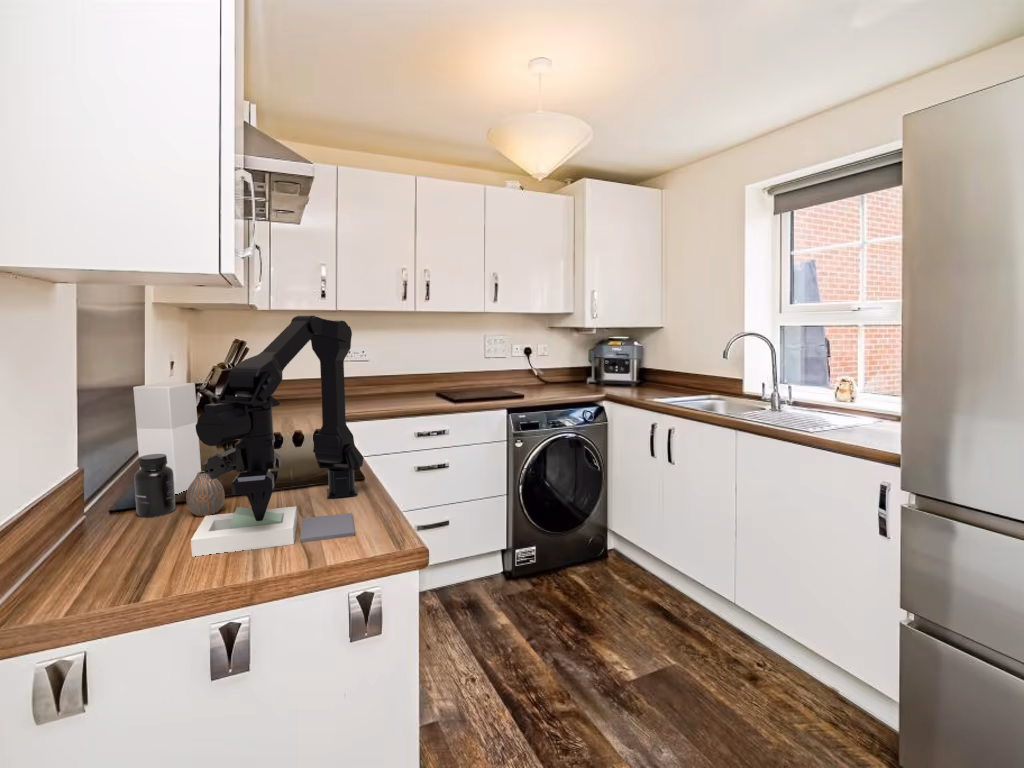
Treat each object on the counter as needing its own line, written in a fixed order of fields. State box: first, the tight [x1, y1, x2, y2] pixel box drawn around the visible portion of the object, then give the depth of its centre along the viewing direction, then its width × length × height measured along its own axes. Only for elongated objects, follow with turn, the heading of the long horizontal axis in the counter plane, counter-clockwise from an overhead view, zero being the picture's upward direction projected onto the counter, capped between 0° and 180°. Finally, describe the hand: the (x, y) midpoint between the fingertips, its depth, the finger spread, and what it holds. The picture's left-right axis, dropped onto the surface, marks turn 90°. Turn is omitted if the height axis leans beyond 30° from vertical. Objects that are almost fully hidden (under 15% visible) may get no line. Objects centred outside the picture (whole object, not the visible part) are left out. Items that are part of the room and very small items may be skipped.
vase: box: [185, 470, 225, 517], centre depth 111 cm, size 7×7×9 cm
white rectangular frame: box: [190, 505, 298, 558], centre depth 99 cm, size 12×16×3 cm
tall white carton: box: [133, 382, 202, 495], centre depth 127 cm, size 9×9×25 cm
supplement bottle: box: [133, 454, 176, 518], centre depth 112 cm, size 7×7×12 cm
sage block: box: [230, 506, 282, 529], centre depth 99 cm, size 4×8×3 cm, turn 109°
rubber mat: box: [299, 512, 355, 543], centre depth 104 cm, size 11×10×1 cm
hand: (260, 516), depth 99 cm, fingers closed on sage block, 4 cm apart
